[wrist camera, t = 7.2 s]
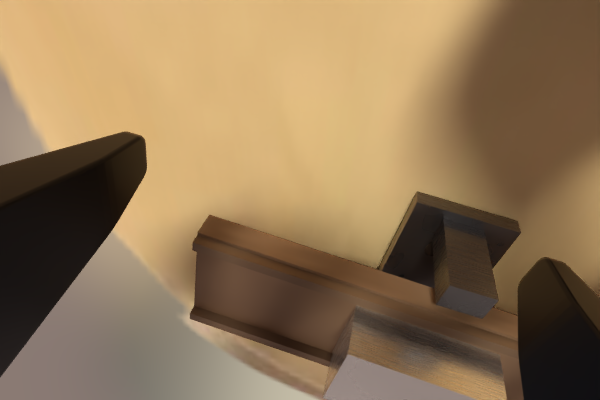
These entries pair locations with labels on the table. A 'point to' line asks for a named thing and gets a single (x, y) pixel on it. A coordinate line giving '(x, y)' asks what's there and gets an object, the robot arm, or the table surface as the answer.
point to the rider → (408, 364)
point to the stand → (451, 252)
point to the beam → (322, 298)
